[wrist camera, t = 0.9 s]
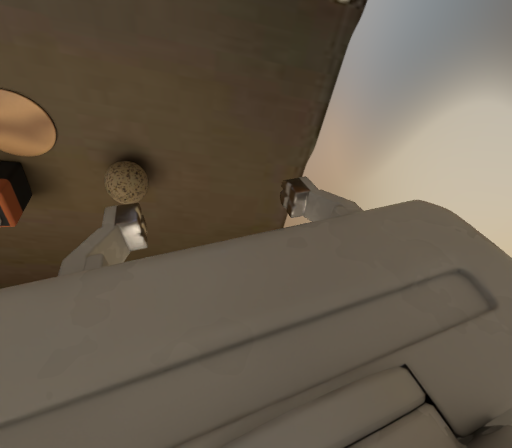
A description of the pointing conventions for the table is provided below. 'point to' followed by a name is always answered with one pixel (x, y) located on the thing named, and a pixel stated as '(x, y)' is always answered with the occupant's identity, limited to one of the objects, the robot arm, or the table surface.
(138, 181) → the decorative egg
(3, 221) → the battery
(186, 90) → the table surface
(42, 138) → the wooden coaster
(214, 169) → the table surface
